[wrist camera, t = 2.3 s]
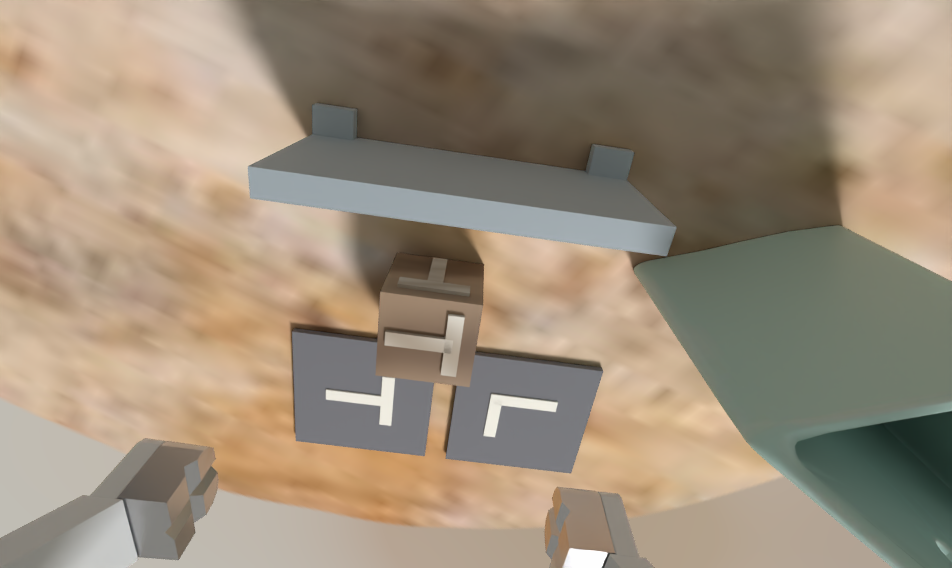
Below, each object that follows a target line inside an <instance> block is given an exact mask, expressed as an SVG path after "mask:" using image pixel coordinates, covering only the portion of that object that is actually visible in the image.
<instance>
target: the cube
mask: <svg viewBox="0 0 952 568" xmlns="http://www.w3.org/2000/svg"><path fill="white" fill-rule="evenodd" d="M483 280H484V264H478V263H470V262H463V261H456V260H448V259H442V258H435V257H426V256H419V255H411V254H404V253H397V255H396V257H395V259H394V261H393V264H392V266H391V268H390V271H389V273H388V275H387V277H386V280H385V282H384V284H383V286H382V289H381V291H380V304H379V321H378V339H377V356H376V374H375V375H376V376H384V377H392V378H400V379H408V380H416V381H424V382H432V383H440V384H448V385H456V386H464V387H470V381H471V375H472V369H473V363H474V357H475V351H476V345H477V339H478V333H479V327H480V321H481V315H482V309H483Z"/></svg>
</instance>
